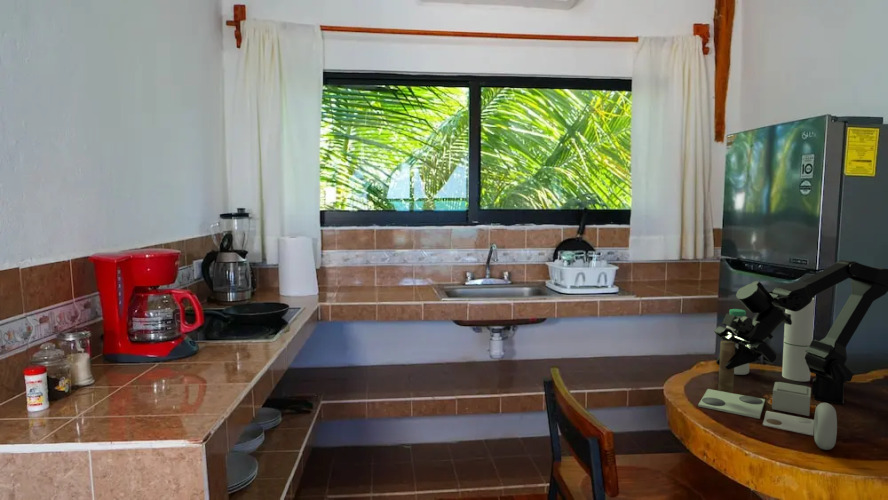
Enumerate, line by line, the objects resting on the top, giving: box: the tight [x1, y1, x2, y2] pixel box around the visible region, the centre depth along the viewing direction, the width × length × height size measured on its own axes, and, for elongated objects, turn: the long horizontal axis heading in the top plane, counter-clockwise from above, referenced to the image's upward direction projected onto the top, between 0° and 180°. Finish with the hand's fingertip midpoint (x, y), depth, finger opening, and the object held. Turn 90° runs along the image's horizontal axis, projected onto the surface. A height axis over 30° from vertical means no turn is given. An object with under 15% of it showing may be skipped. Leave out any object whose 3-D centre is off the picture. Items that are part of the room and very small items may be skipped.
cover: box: [771, 381, 812, 417], centre depth 137 cm, size 8×8×5 cm
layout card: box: [762, 410, 814, 437], centre depth 127 cm, size 10×10×1 cm
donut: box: [813, 402, 838, 451], centre depth 114 cm, size 10×3×10 cm, turn 149°
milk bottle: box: [725, 308, 750, 376], centre depth 165 cm, size 8×8×20 cm
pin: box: [717, 340, 735, 393], centre depth 139 cm, size 4×4×13 cm
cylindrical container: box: [781, 297, 815, 382], centre depth 159 cm, size 7×7×25 cm
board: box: [697, 388, 766, 420], centre depth 140 cm, size 14×14×1 cm
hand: (721, 366), depth 139 cm, fingers closed on pin, 3 cm apart
